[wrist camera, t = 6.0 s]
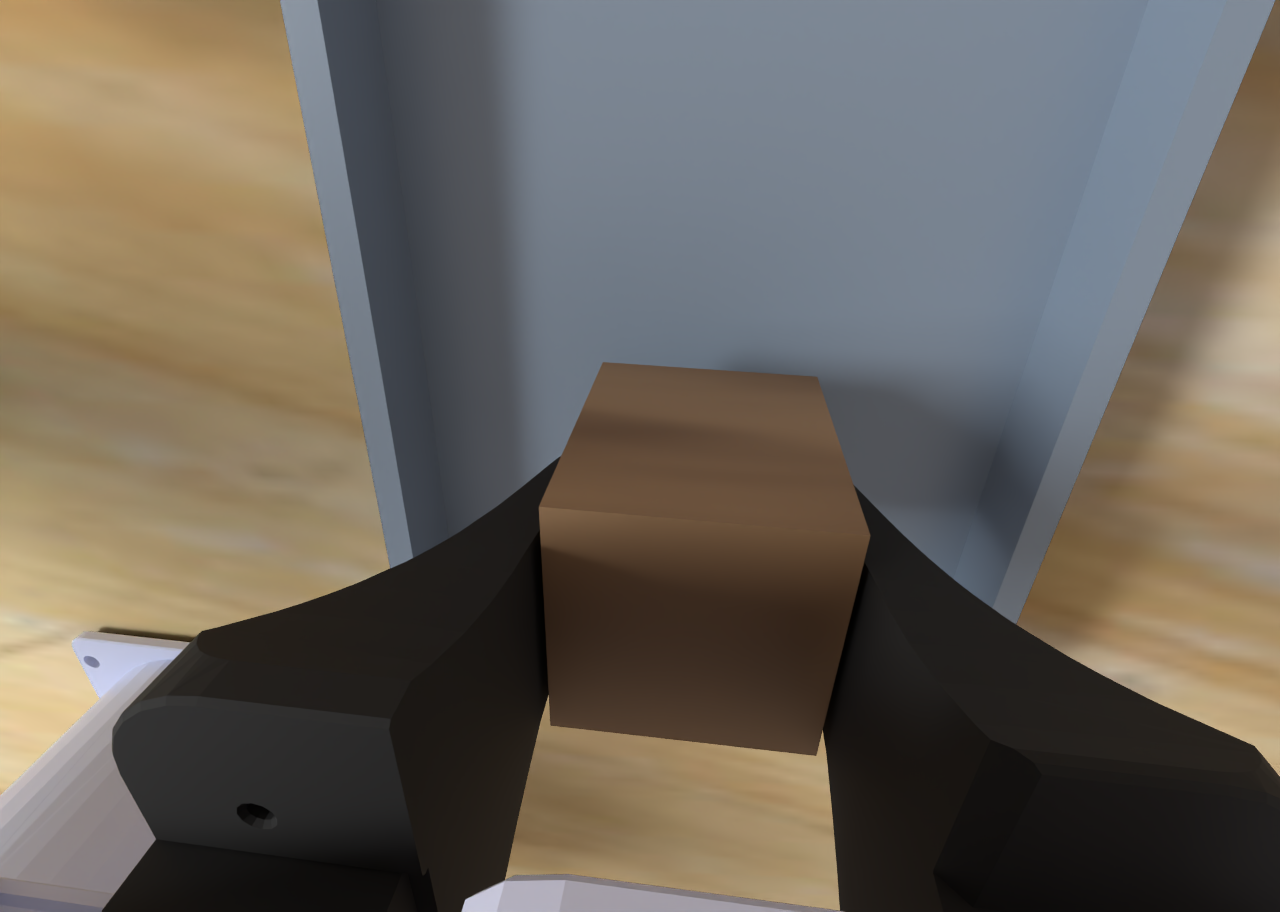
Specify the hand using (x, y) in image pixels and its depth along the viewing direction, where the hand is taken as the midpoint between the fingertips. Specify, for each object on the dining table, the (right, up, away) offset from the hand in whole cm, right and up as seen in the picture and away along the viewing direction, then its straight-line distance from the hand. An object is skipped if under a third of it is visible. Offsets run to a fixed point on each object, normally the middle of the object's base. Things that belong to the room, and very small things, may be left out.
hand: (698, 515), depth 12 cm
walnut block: (0, +1, +1) cm, 2 cm away
